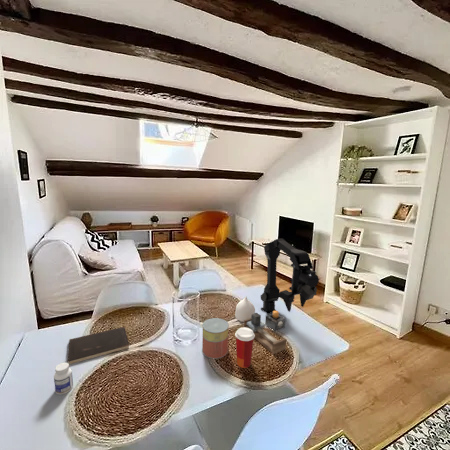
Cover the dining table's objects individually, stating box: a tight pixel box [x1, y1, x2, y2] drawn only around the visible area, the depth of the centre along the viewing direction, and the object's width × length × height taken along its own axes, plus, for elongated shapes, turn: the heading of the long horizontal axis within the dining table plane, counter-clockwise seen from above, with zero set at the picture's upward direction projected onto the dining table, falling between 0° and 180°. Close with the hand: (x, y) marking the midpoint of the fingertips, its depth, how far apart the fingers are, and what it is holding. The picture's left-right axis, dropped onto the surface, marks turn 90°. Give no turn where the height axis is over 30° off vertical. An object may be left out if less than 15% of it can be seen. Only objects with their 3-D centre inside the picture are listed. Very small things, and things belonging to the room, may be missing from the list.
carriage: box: [247, 312, 266, 333], centre depth 125 cm, size 6×6×7 cm
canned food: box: [201, 317, 230, 360], centre depth 110 cm, size 11×11×12 cm
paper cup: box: [234, 326, 255, 369], centre depth 103 cm, size 8×8×14 cm
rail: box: [243, 318, 287, 355], centre depth 120 cm, size 22×7×5 cm, turn 32°
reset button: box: [272, 310, 280, 320], centre depth 130 cm, size 3×3×4 cm
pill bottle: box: [53, 362, 74, 395], centre depth 88 cm, size 5×5×9 cm
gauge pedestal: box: [264, 312, 286, 332], centre depth 131 cm, size 7×7×5 cm
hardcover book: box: [66, 326, 130, 365], centre depth 112 cm, size 16×23×2 cm
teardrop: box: [234, 296, 256, 323], centre depth 138 cm, size 11×11×12 cm
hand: (295, 308), depth 122 cm, fingers open, 9 cm apart
